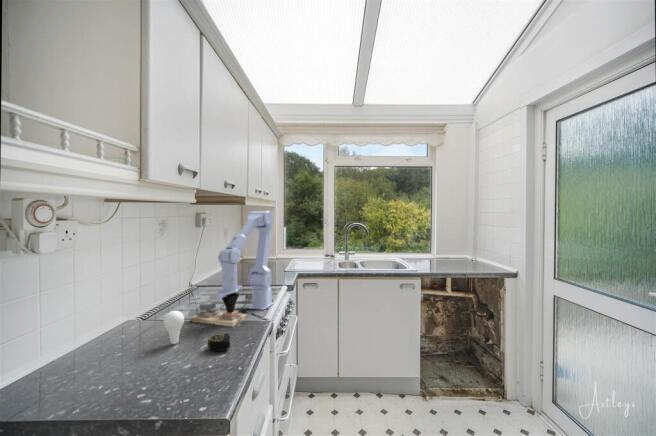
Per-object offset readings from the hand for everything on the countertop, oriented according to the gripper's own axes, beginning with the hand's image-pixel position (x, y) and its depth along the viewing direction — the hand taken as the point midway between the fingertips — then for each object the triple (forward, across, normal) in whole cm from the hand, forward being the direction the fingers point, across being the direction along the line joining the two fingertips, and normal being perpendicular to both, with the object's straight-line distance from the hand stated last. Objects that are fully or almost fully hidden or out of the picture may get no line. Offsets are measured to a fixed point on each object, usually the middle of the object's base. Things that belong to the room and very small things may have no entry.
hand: (230, 312), depth 120 cm
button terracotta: (+2, 0, 0) cm, 2 cm away
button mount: (+3, 0, -6) cm, 7 cm away
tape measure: (+4, +21, +12) cm, 24 cm away
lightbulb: (+4, +23, -6) cm, 24 cm away
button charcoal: (-1, 0, -11) cm, 11 cm away
